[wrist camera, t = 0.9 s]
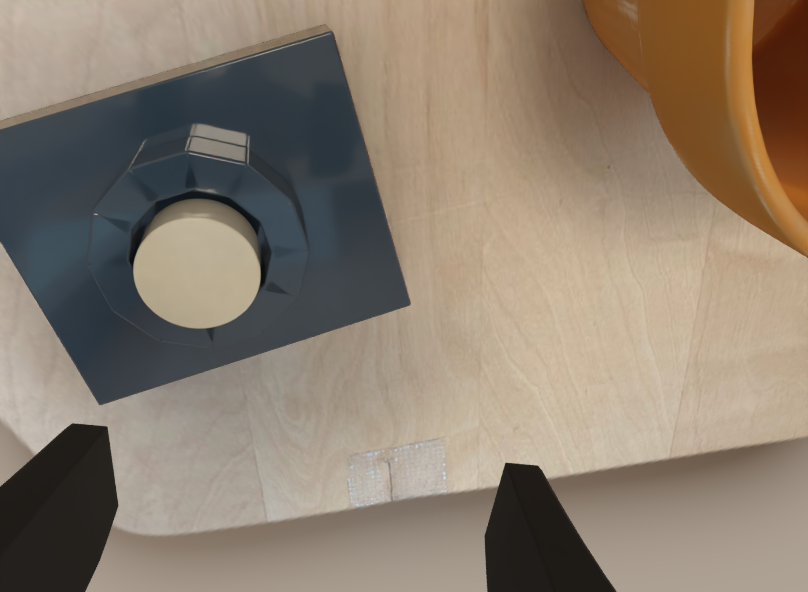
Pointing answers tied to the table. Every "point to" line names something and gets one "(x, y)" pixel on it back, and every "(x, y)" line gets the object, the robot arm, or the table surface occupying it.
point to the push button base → (199, 179)
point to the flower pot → (726, 96)
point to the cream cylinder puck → (198, 264)
